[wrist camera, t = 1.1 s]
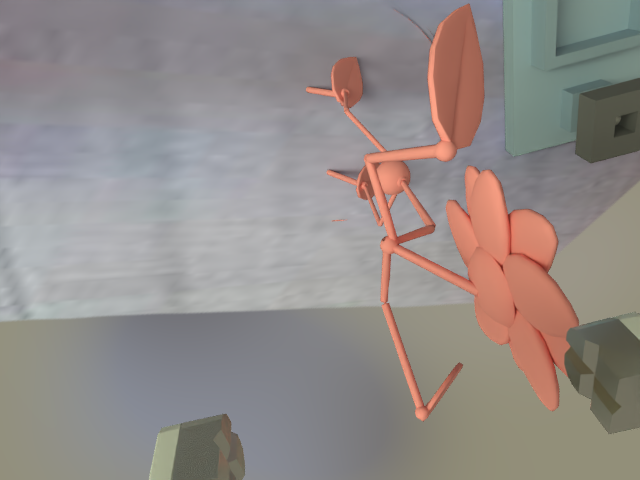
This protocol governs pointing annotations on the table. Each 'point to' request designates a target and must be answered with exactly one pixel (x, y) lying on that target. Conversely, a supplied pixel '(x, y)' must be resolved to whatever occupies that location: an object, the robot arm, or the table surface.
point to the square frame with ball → (609, 121)
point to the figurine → (468, 220)
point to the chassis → (562, 63)
